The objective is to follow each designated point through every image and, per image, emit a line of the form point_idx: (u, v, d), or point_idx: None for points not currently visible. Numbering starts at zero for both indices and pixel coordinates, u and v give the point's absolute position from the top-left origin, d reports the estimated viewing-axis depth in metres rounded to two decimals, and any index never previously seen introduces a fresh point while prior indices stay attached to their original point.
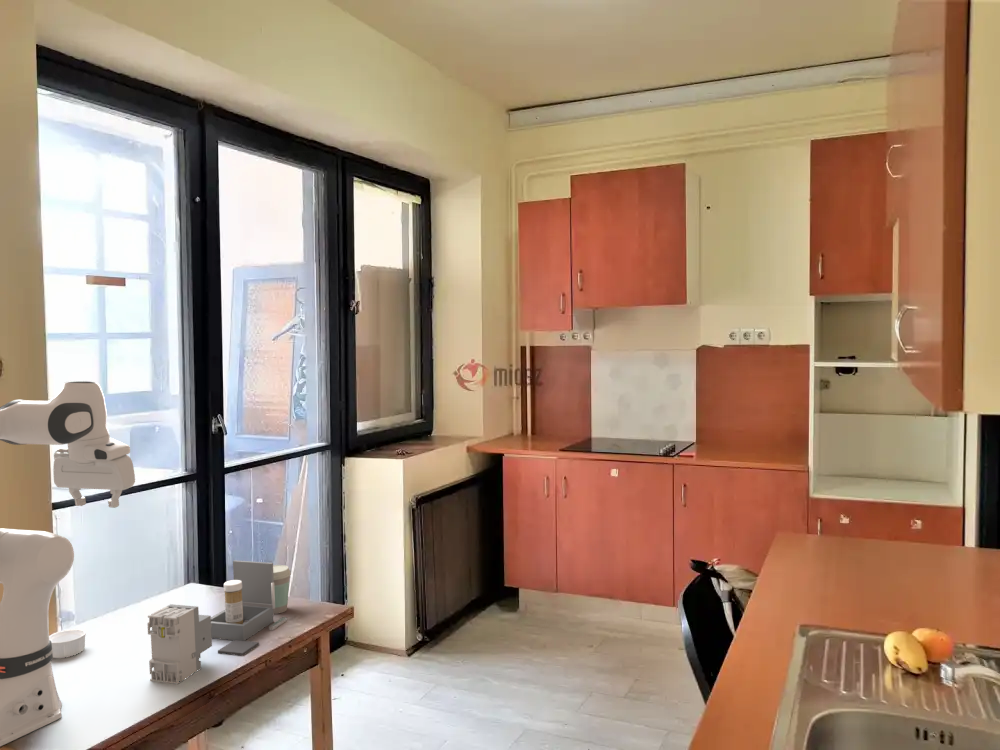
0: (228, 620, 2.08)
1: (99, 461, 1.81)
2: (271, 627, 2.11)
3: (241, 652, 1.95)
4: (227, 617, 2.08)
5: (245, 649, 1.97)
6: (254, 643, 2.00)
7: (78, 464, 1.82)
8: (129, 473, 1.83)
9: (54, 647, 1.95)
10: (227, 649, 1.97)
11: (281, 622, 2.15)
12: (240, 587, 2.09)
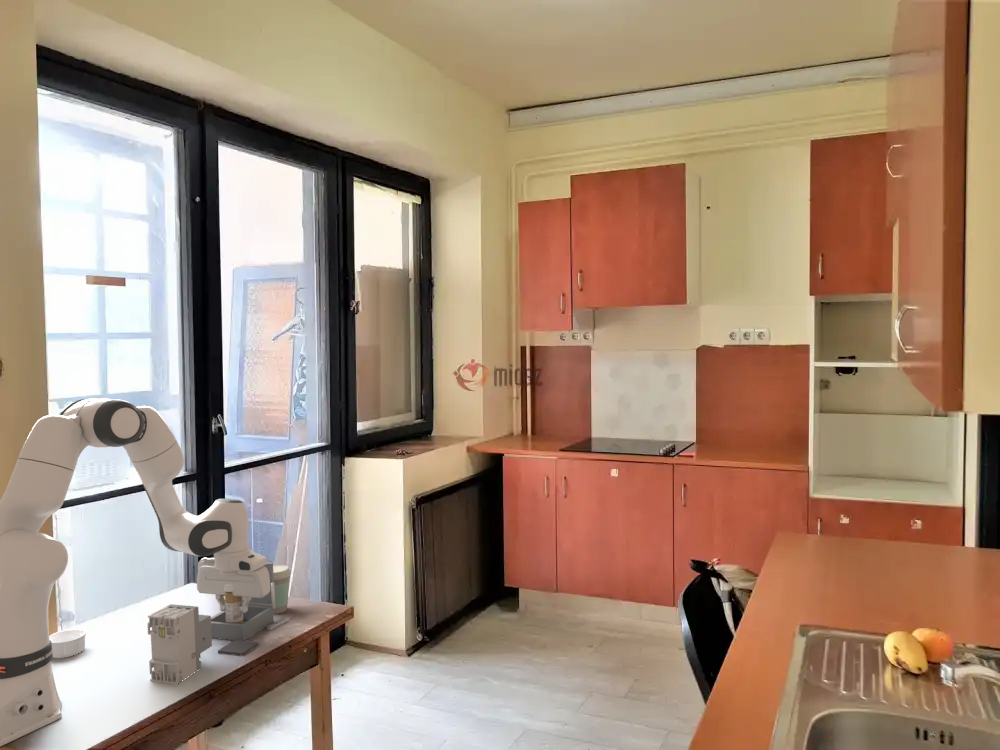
0: (228, 620, 2.08)
1: (242, 571, 2.05)
2: (269, 627, 2.11)
3: (241, 652, 1.95)
4: (227, 617, 2.08)
5: (245, 649, 1.97)
6: (254, 643, 2.00)
7: (222, 573, 2.06)
8: (266, 582, 2.07)
9: (54, 647, 1.95)
10: (227, 649, 1.97)
11: (281, 622, 2.15)
12: None
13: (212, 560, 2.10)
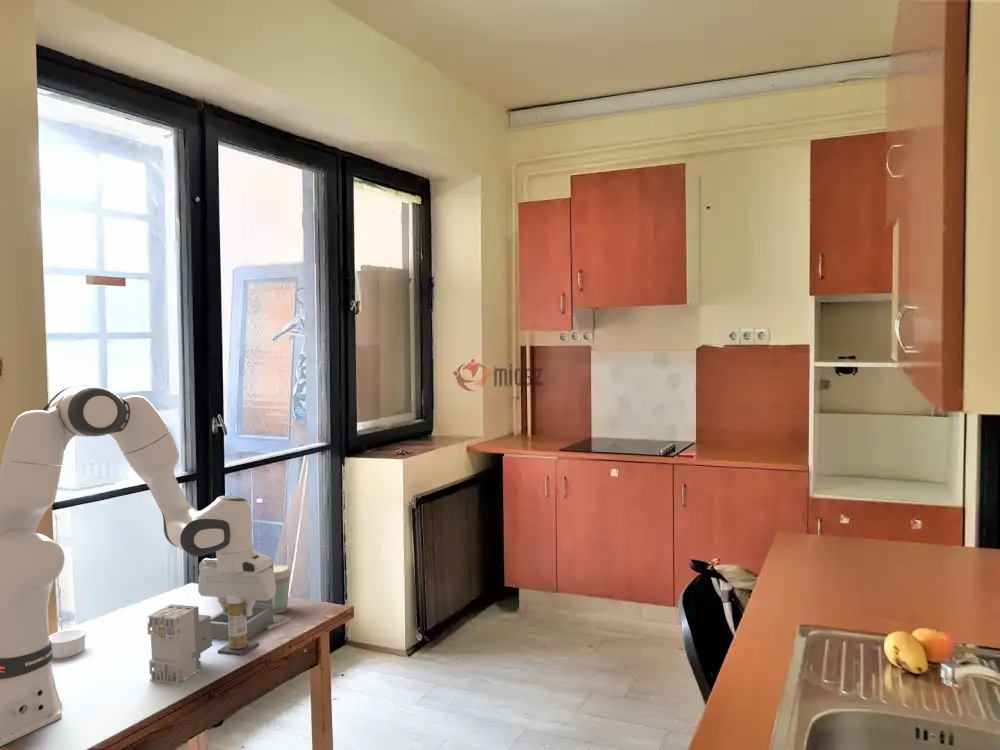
0: (231, 634, 1.97)
1: (246, 573, 1.94)
2: (267, 626, 2.11)
3: (241, 652, 1.95)
4: (231, 631, 1.97)
5: (245, 649, 1.97)
6: (254, 643, 2.00)
7: (225, 575, 1.95)
8: (272, 584, 1.96)
9: (54, 647, 1.95)
10: (227, 649, 1.97)
11: (281, 622, 2.15)
12: (244, 599, 1.98)
13: (214, 561, 1.99)
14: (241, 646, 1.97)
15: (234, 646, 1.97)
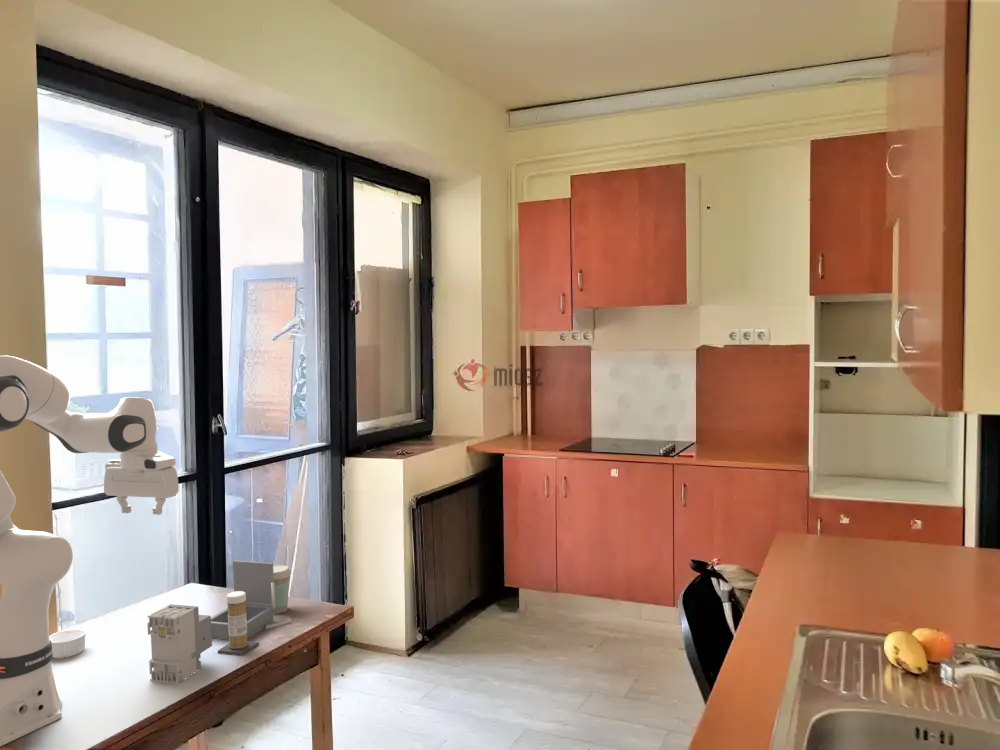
0: (231, 634, 1.97)
1: (148, 470, 1.99)
2: (265, 626, 2.12)
3: (241, 652, 1.95)
4: (231, 631, 1.97)
5: (245, 649, 1.97)
6: (254, 643, 2.00)
7: (128, 473, 2.00)
8: (174, 483, 2.01)
9: (54, 647, 1.95)
10: (227, 649, 1.97)
11: (281, 623, 2.14)
12: (244, 599, 1.98)
13: (119, 461, 2.04)
14: (241, 646, 1.97)
15: (234, 646, 1.97)
